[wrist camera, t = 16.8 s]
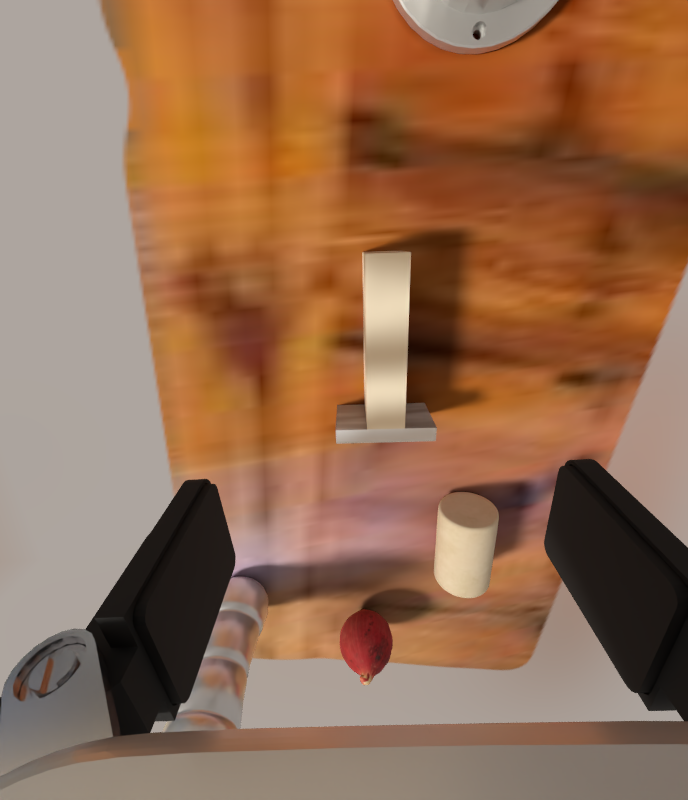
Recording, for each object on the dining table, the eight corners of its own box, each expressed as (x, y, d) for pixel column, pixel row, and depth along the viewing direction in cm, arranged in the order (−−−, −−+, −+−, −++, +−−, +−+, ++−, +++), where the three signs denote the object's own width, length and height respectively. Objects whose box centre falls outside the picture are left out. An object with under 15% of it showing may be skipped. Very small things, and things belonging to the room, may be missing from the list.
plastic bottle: (272, 569, 42) (213, 825, 24) (272, 610, 45) (219, 869, 26) (215, 566, 42) (111, 820, 23) (218, 607, 44) (128, 865, 26)
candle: (512, 520, 33) (499, 599, 37) (475, 486, 38) (467, 558, 42) (459, 536, 32) (451, 616, 36) (427, 498, 37) (423, 572, 41)
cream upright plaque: (330, 253, 29) (327, 255, 24) (433, 249, 29) (449, 250, 24) (337, 416, 34) (336, 443, 30) (423, 414, 34) (435, 440, 30)
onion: (366, 585, 43) (370, 656, 35) (398, 611, 44) (408, 684, 37) (330, 609, 44) (327, 682, 37) (362, 633, 46) (365, 707, 39)
